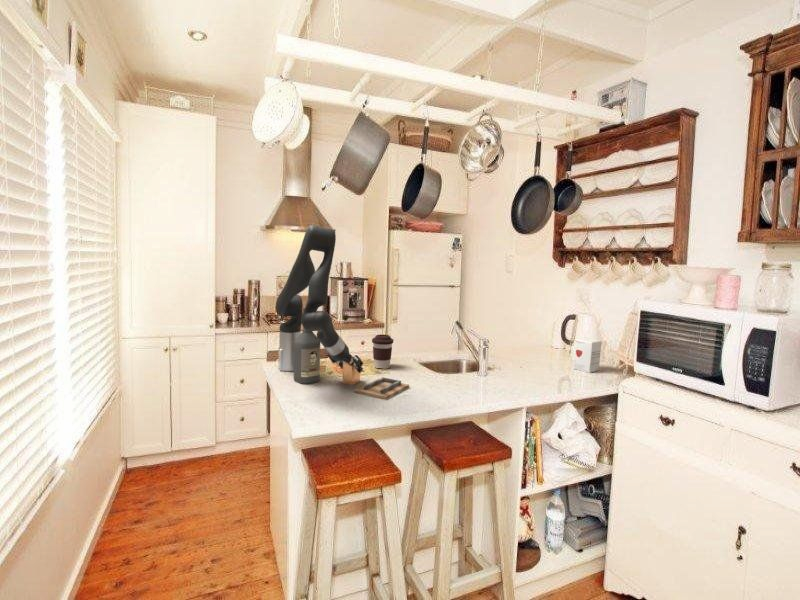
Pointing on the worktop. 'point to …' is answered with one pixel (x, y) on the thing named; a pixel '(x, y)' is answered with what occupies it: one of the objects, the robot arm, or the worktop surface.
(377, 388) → the board
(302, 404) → the worktop surface
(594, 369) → the supplement box
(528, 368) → the worktop surface
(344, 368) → the block
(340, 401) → the worktop surface
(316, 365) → the liquor
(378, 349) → the coffee cup
